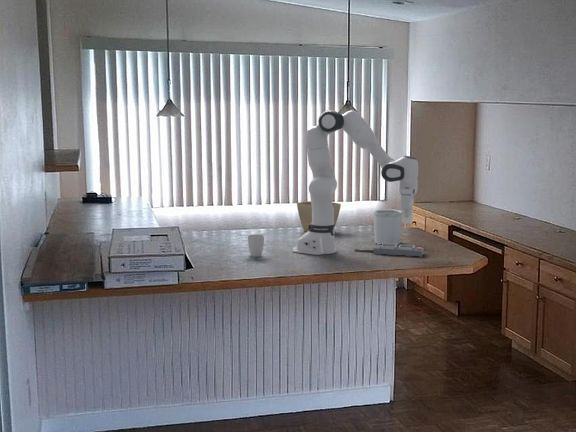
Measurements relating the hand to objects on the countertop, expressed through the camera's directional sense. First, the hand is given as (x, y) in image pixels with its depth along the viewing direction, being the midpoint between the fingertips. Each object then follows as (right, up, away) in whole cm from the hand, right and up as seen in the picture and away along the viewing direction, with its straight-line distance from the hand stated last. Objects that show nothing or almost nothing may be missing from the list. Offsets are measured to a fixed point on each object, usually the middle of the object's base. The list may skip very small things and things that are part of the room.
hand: (407, 216), depth 354 cm
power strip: (-9, -19, +6) cm, 21 cm away
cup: (-75, -20, -1) cm, 78 cm away
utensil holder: (-6, -15, +32) cm, 35 cm away
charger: (0, -3, +1) cm, 3 cm away
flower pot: (-41, -9, +65) cm, 78 cm away
